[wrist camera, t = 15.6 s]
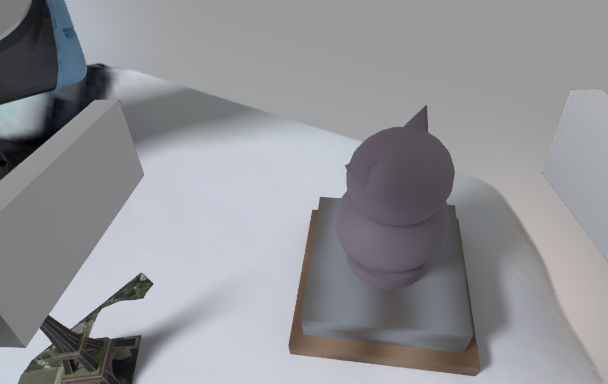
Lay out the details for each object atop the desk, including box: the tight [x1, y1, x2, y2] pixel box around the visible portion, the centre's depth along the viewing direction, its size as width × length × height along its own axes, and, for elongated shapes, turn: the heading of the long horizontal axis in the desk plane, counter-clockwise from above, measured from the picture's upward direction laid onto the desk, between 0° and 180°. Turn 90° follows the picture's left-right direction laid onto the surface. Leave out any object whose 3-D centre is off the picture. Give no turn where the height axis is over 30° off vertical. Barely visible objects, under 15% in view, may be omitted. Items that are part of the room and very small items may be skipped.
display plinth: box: [289, 197, 480, 376], centre depth 34 cm, size 14×14×4 cm
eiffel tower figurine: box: [18, 273, 153, 384], centre depth 28 cm, size 15×10×13 cm
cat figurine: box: [335, 105, 455, 290], centre depth 28 cm, size 8×8×12 cm
